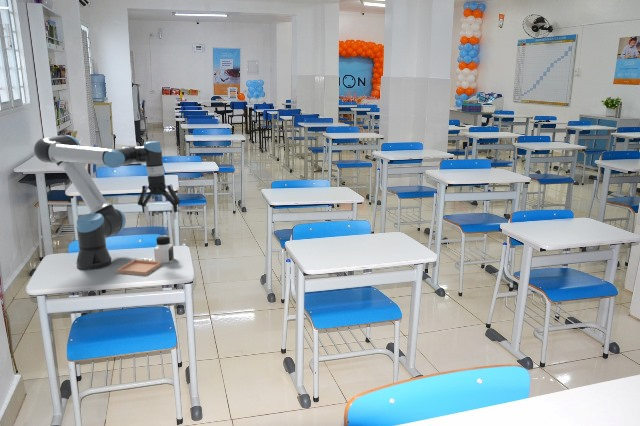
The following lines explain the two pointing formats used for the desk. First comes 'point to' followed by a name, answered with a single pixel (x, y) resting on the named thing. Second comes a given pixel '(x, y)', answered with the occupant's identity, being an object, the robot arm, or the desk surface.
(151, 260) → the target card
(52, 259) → the desk surface
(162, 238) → the medicine bottle
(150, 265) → the tray
